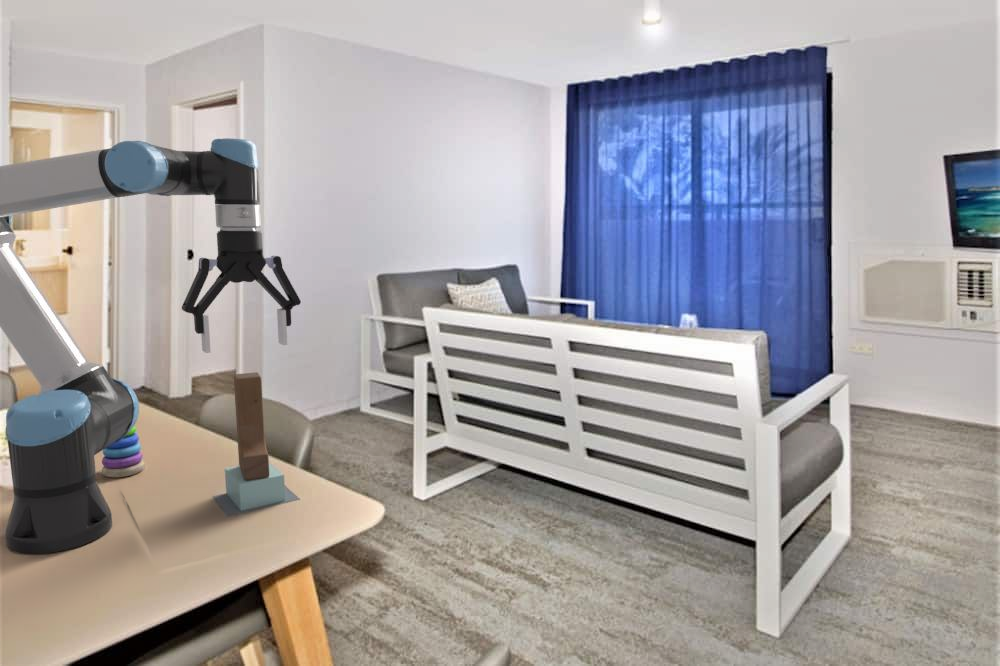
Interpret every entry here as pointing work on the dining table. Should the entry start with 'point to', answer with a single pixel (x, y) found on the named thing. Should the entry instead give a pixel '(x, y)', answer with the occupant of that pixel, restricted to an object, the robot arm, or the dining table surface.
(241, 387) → the wooden block
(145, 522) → the dining table surface
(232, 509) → the mat
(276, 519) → the dining table surface
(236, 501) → the plinth
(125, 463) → the stacking toy
